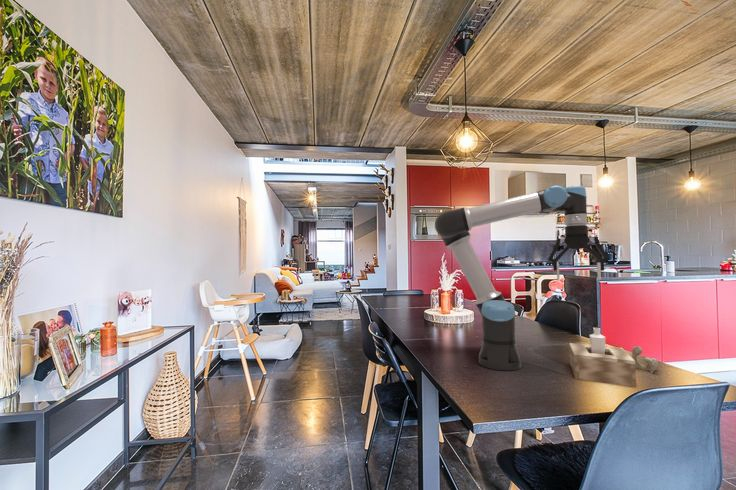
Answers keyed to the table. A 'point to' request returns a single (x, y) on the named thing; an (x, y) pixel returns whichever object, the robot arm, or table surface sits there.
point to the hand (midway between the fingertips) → (578, 279)
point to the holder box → (603, 365)
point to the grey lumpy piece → (651, 362)
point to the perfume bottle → (597, 342)
